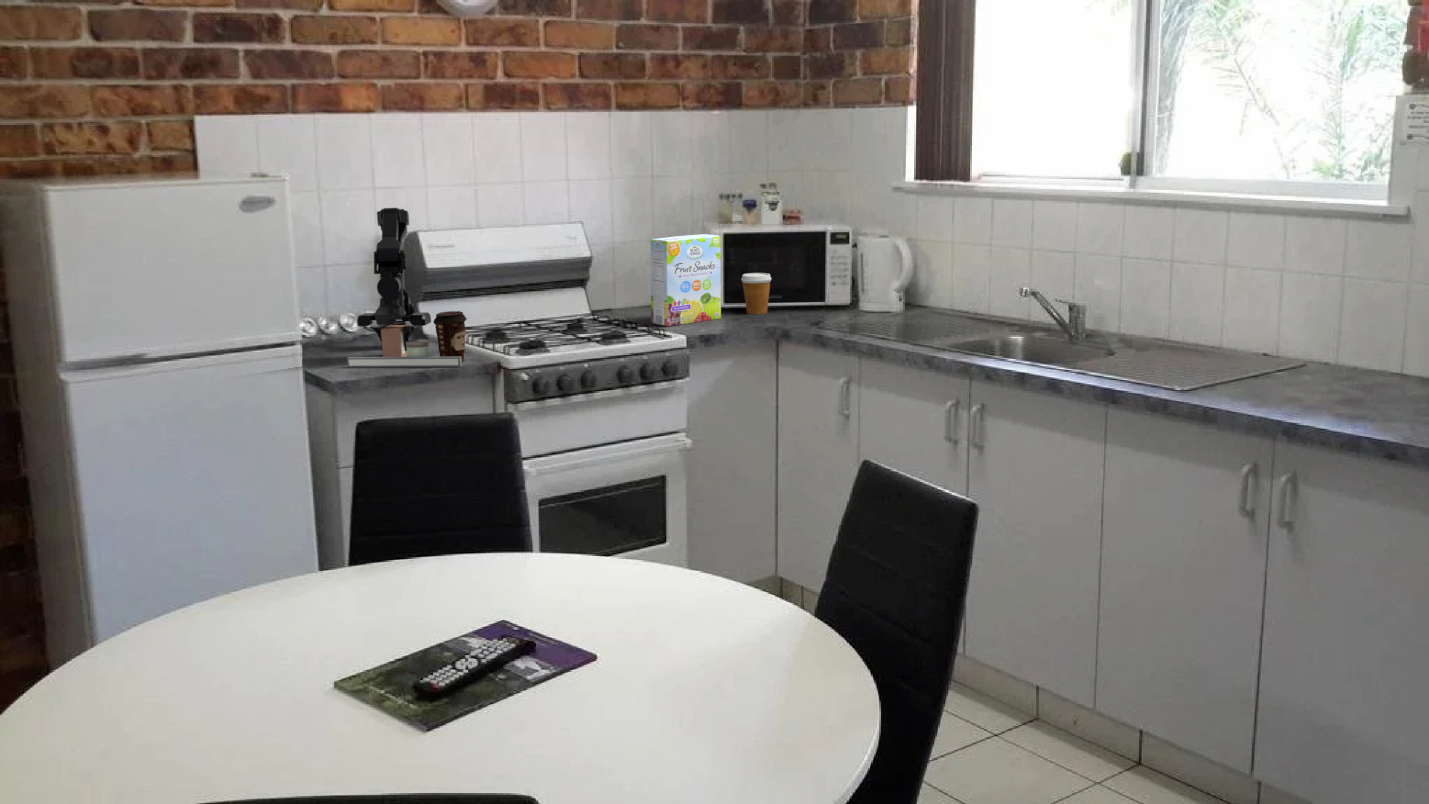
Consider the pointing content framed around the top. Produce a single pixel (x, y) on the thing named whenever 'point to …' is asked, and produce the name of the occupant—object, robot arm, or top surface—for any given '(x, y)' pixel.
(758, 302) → the disposable coffee cup
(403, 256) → the robot arm
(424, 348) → the spice jar
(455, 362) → the rail
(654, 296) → the snack box
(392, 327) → the tea box
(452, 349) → the coffee cup
